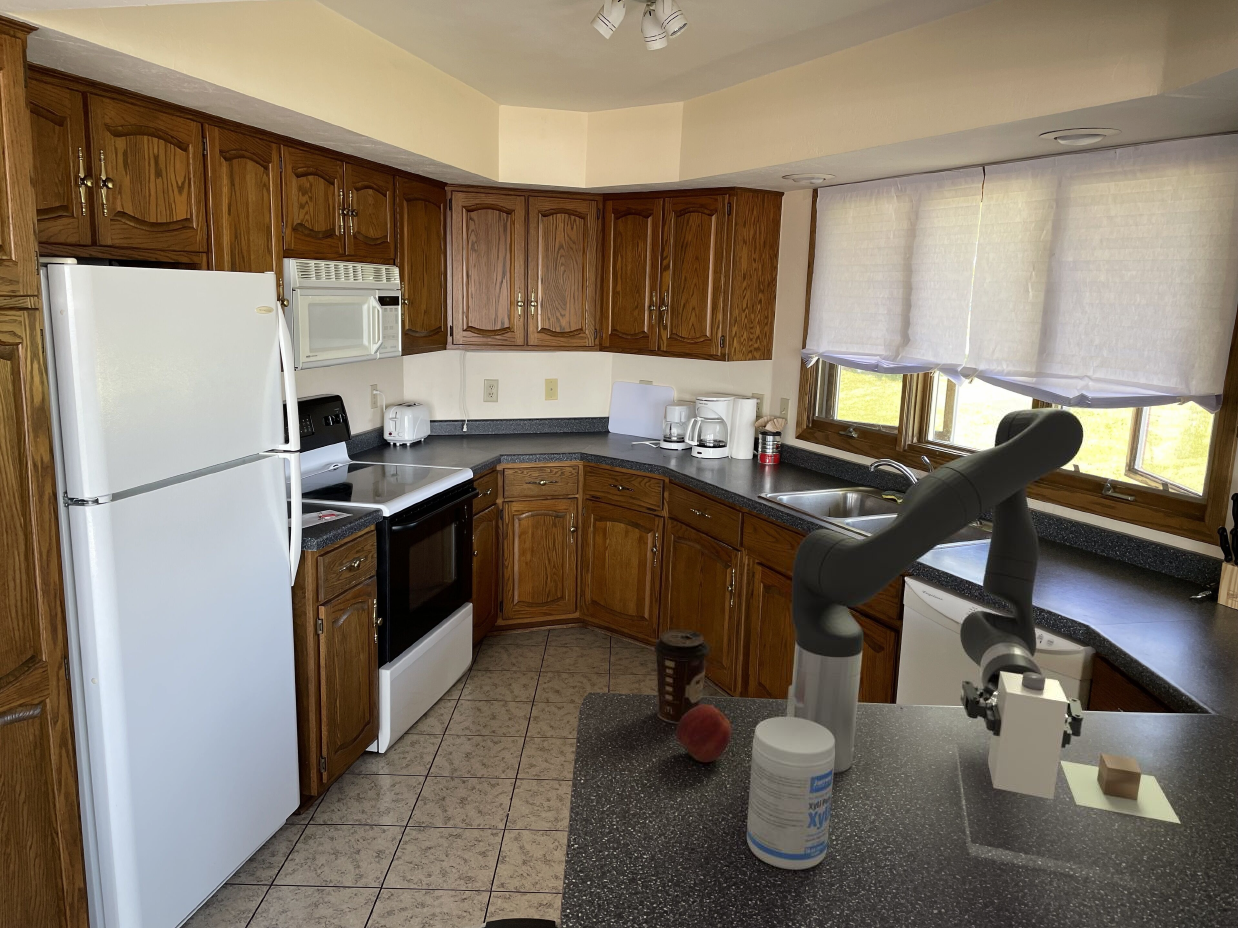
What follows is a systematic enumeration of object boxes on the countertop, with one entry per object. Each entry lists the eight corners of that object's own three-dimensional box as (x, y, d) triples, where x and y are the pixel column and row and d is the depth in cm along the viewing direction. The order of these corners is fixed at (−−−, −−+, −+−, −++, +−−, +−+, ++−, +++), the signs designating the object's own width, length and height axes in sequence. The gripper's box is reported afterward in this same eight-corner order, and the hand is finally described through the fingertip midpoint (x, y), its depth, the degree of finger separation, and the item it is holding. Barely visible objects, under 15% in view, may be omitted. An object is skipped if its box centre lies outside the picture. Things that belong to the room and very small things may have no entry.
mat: (1075, 811, 114) (1076, 804, 113) (1059, 766, 125) (1060, 760, 125) (1179, 830, 110) (1180, 823, 110) (1153, 782, 121) (1154, 776, 121)
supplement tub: (822, 881, 98) (833, 761, 95) (739, 862, 100) (747, 745, 98) (829, 833, 107) (839, 722, 104) (752, 817, 109) (760, 709, 107)
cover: (993, 787, 102) (1008, 682, 99) (987, 761, 108) (1001, 661, 105) (1053, 799, 100) (1069, 692, 97) (1044, 772, 106) (1059, 670, 104)
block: (1103, 794, 116) (1107, 767, 115) (1096, 779, 120) (1100, 752, 119) (1137, 800, 115) (1141, 772, 114) (1129, 785, 119) (1133, 758, 118)
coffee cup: (706, 705, 140) (710, 629, 138) (706, 729, 132) (711, 649, 130) (652, 701, 141) (656, 625, 139) (649, 725, 133) (653, 645, 130)
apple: (727, 775, 119) (731, 721, 118) (671, 768, 120) (674, 714, 119) (730, 748, 126) (733, 697, 125) (677, 742, 128) (680, 691, 126)
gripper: (958, 643, 117) (968, 692, 102) (1075, 661, 113) (1104, 715, 98) (951, 695, 119) (960, 751, 103) (1066, 715, 115) (1094, 776, 99)
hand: (1030, 734), depth 100 cm, fingers closed on cover, 6 cm apart
